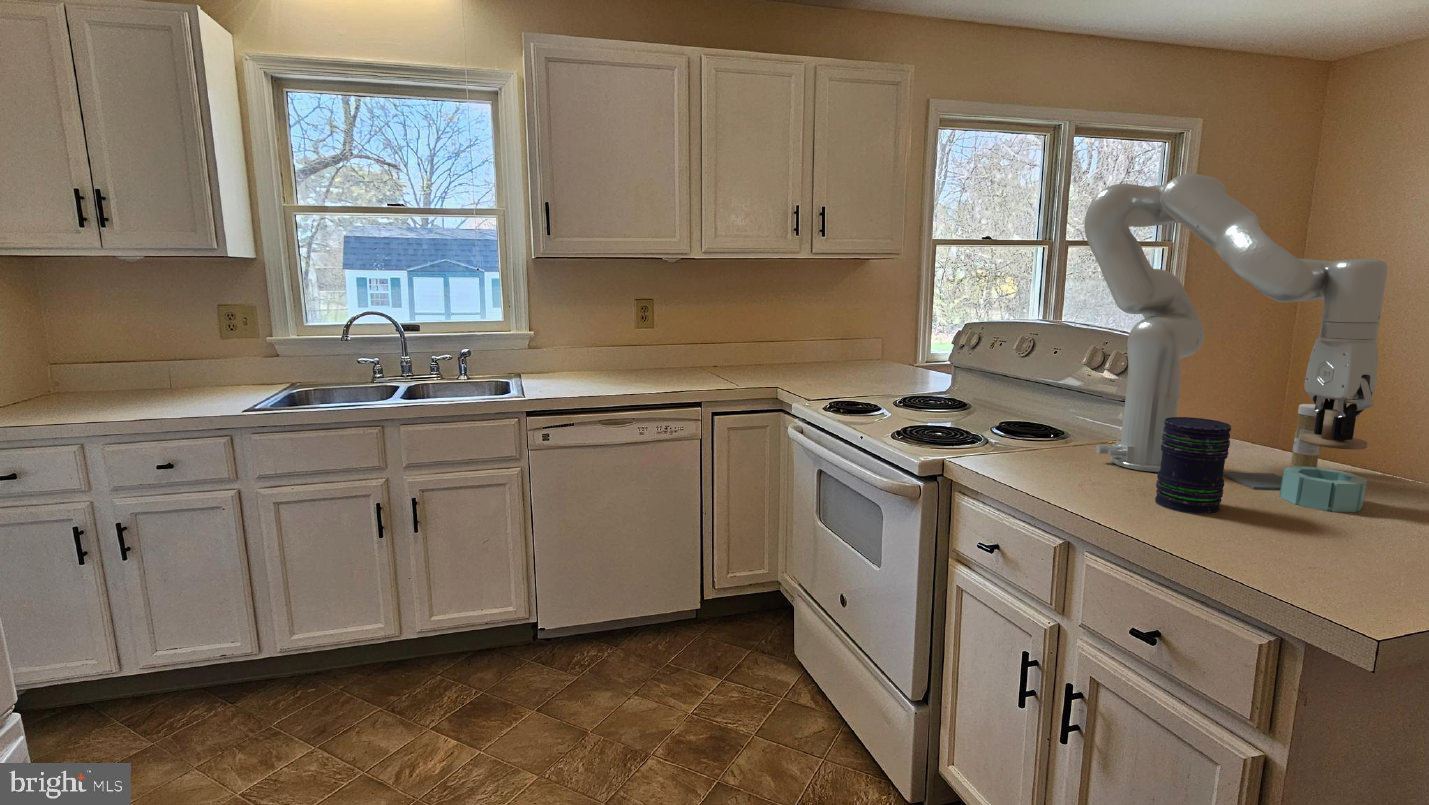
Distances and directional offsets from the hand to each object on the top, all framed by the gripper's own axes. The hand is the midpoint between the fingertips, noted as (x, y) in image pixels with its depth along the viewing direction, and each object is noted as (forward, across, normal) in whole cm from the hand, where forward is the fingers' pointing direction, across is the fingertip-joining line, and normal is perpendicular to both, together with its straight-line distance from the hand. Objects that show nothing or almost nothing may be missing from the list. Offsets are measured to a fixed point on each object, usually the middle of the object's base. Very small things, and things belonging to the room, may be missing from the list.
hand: (1332, 436), depth 126 cm
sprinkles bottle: (+12, -23, +13) cm, 29 cm away
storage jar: (+12, +4, -25) cm, 28 cm away
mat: (+12, -12, -2) cm, 17 cm away
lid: (+1, 0, 0) cm, 1 cm away
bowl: (+12, 0, 0) cm, 12 cm away
